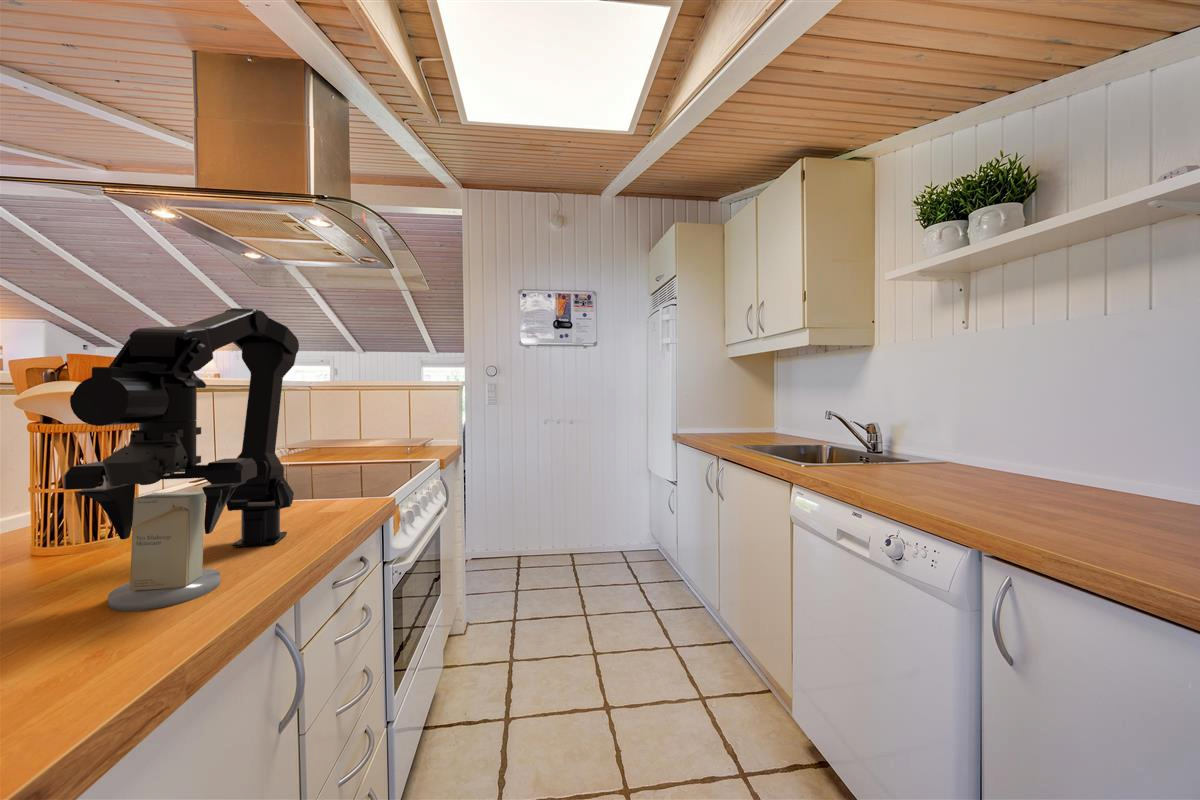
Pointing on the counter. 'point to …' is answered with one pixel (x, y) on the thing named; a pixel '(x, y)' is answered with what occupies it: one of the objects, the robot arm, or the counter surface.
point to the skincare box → (167, 540)
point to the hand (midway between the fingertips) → (167, 535)
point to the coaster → (162, 594)
